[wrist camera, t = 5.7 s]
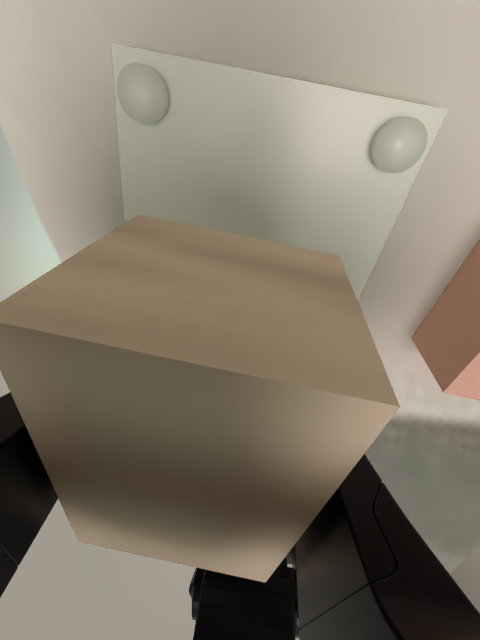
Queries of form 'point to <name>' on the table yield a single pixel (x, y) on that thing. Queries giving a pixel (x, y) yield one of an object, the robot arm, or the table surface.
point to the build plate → (266, 154)
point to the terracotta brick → (455, 332)
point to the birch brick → (194, 391)
